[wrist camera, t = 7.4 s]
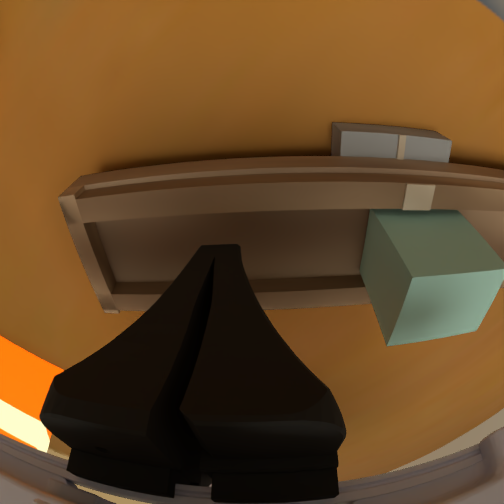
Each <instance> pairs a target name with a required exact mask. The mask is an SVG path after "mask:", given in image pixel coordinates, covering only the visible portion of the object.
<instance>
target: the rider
mask: <svg viewBox="0 0 504 504" xmlns="http://www.w3.org/2000/svg"><path fill="white" fill-rule="evenodd" d="M359 271H360V274H361V276H362V279H363V282H364V284H365V287H366V289H367V292H368V295H369V297H370V300H371V303H372V305H373V308H374V311H375V314H376V316H377V319H378V322H379V325H380V328H381V331H382V334H383V337H384V339H385V342H386V345H387V346H393V345H400V344H407V343H413V342H420V341H426V340H432V339H437V338H443V337H448V336H453V335H458V334H463V333H468V332H473V331H476V330H477V329H478V327H479V325H480V323H481V322H482V320H483V318H484V316H485V315H486V313H487V311H488V309H489V307H490V306H491V304H492V302H493V300H494V298H495V296H496V294H497V292H498V290H499V288H500V286H501V284H502V282H503V280H504V262H503V261H502V259H501V258H500V257H499V256H498V255H497V253H496V252H495V251H494V250H493V249H492V247H491V246H490V245H489V244H488V243H487V242H486V240H485V239H484V238H483V237H482V236H481V235H480V234H479V233H478V231H477V230H476V229H475V228H474V227H473V226H472V225H471V224H470V223H469V222H468V221H467V220H466V218H465V217H464V216H463V215H462V214H461V213H460V212H459V211H458V210H447V209H430V210H402V209H370V212H369V219H368V225H367V231H366V237H365V243H364V249H363V254H362V260H361V265H360V270H359Z"/></svg>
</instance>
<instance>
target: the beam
mask: <svg viewBox="0 0 504 504" xmlns="http://www.w3.org/2000/svg"><path fill="white" fill-rule="evenodd" d="M451 144H452V141H451V140H450V139H448V138H446V137H445V136H443V135H441V134H439V133H438V132H436V131H431V130H423V129H415V128H406V127H396V126H385V125H372V124H356V123H332V146H331V156H282V157H253V158H234V159H218V160H204V161H192V162H182V163H171V164H162V165H153V166H145V167H137V168H129V169H122V170H115V171H108V172H102V173H96V174H90V175H84V176H80V177H79V178H78V179H77V180H76V181H75V182H74V183H73V184H72V185H70V186H69V187H68V188H67V189H66V190H65V191H64V192H63V193H62V194H61V195H60V196H59V197H58V199H59V202H60V205H61V208H62V211H63V214H64V217H65V220H66V223H67V226H68V228H69V231H70V234H71V236H72V239H73V242H74V244H75V247H76V249H77V252H78V254H79V257H80V259H81V262H82V264H83V266H84V269H85V271H86V273H87V276H88V278H89V280H90V282H91V285H92V287H93V289H94V291H95V293H96V296H97V298H98V300H99V302H100V304H101V306H102V308H103V310H104V312H105V313H120V310H124V311H147V310H148V309H149V308H150V307H151V306H152V305H153V304H154V303H155V302H156V301H157V300H158V299H159V297H160V296H161V295H162V294H163V293H164V292H165V291H166V290H167V288H168V287H169V286H170V285H171V284H172V282H173V281H174V280H175V279H176V277H177V276H178V275H179V274H180V272H181V271H182V270H183V269H184V267H185V266H186V265H187V263H188V262H189V261H190V259H191V258H192V257H193V255H194V254H195V252H196V251H197V250H198V248H199V247H200V246H201V245H219V244H238V245H239V246H240V247H241V256H242V263H243V267H244V270H245V273H246V275H247V278H248V280H249V283H250V285H251V287H252V290H253V292H254V294H255V296H256V298H257V300H258V302H259V304H260V305H261V307H262V309H263V310H274V309H297V308H315V307H331V306H346V305H359V304H372V303H371V300H370V297H369V295H368V292H367V289H366V287H365V284H364V282H363V279H362V276H361V274H360V271H359V270H360V265H361V260H362V254H363V249H364V243H365V237H366V231H367V225H368V219H369V212H370V209H402V210H430V209H447V210H458V211H459V212H460V213H461V214H462V215H463V216H464V217H465V218H466V220H467V221H468V222H469V223H470V224H471V225H472V226H473V227H474V228H475V229H476V230H477V231H478V233H479V234H480V235H481V236H482V237H483V238H484V239H485V240H486V242H487V243H488V244H489V245H490V246H491V247H492V249H493V250H494V251H495V252H496V253H497V255H498V256H499V257H500V258H501V259H502V261H503V262H504V170H500V169H494V168H487V167H480V166H472V165H464V164H455V163H448V162H449V156H450V150H451ZM500 288H504V280H503V282H502V284H501V286H500Z"/></svg>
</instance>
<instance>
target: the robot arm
mask: <svg viewBox="0 0 504 504" xmlns="http://www.w3.org/2000/svg"><path fill="white" fill-rule="evenodd" d="M39 418H40V421H41V422H42V424H43V425H44V427H46V428H47V429H48V430H49V431H50V432H51V433H52V434H54V435H55V436H56V437H58V438H59V439H60V440H61V441H63V442H64V443H65V444H67V445H68V446H69V447H71V448H72V449H71V453H70V457H69V460H66V459H63V458H60V457H57V456H54V455H51V454H48V453H46V452H43V451H40V450H38V449H35V448H33V447H30V446H28V445H25V444H23V443H21V442H18V441H16V440H14V439H12V438H9V437H7V436H5V435H3V434H1V433H0V504H116V503H113V502H110V501H107V500H105V499H103V498H101V497H99V496H97V495H95V494H92V493H89V492H86V491H84V490H81V489H78V488H77V486H76V485H75V484H77V485H80V486H83V487H86V488H90V489H93V490H96V491H100V492H103V493H107V494H111V495H115V496H119V497H123V498H127V499H132V500H136V501H141V502H147V503H152V504H504V427H502V428H500V429H498V430H496V431H494V432H493V433H491V434H490V435H488V436H487V437H485V438H484V439H483V440H482V441H481V442H480V443H479V444H477V445H474V446H472V447H469V448H466V449H464V450H461V451H459V452H456V453H453V454H450V455H448V456H445V457H442V458H439V459H436V460H433V461H429V462H426V463H423V464H420V465H416V466H413V467H409V468H405V469H402V470H397V471H393V472H389V473H385V474H380V475H375V476H371V477H365V478H360V479H354V480H348V481H342V482H338V476H337V467H338V455H337V450H338V449H339V447H340V446H341V444H342V442H343V441H344V439H345V437H346V428H345V424H344V420H343V417H342V414H341V412H340V409H339V407H338V405H337V403H336V401H335V399H334V397H333V395H332V393H331V391H330V389H329V388H328V387H327V386H326V385H325V384H324V383H323V382H322V381H320V380H319V379H318V378H317V377H316V376H315V375H314V374H313V373H312V372H311V371H310V370H309V369H308V368H307V367H306V366H305V365H304V364H303V362H302V361H301V360H300V359H299V358H298V357H297V356H296V355H295V354H294V352H293V351H292V350H291V349H290V347H289V346H288V345H287V344H286V342H285V341H284V340H283V339H282V337H281V336H280V335H279V334H278V332H277V331H276V329H275V328H274V326H273V325H272V323H271V322H270V320H269V319H268V317H267V316H266V314H265V312H264V311H263V309H262V307H261V305H260V304H259V302H258V300H257V298H256V296H255V294H254V292H253V290H252V287H251V285H250V283H249V280H248V278H247V275H246V273H245V270H244V267H243V263H242V256H241V247H240V246H239V245H238V244H219V245H201V246H200V247H199V248H198V250H197V251H196V252H195V254H194V255H193V257H192V258H191V259H190V261H189V262H188V263H187V265H186V266H185V267H184V269H183V270H182V271H181V272H180V274H179V275H178V276H177V277H176V279H175V280H174V281H173V282H172V284H171V285H170V286H169V287H168V288H167V290H166V291H165V292H164V293H163V294H162V295H161V296H160V297H159V299H158V300H157V301H156V302H155V303H154V304H153V305H152V306H151V307H150V308H149V309H148V310H147V311H146V312H145V313H144V314H143V315H142V316H141V317H140V318H139V319H138V320H137V321H136V322H134V323H133V324H132V325H131V326H130V327H128V328H127V329H126V330H125V331H123V332H122V333H121V334H120V335H118V336H117V337H116V338H115V339H114V340H112V341H111V342H109V343H108V344H107V345H105V346H104V347H102V348H101V349H100V350H98V351H97V352H95V353H94V354H92V355H91V356H89V357H87V358H86V359H84V360H83V361H81V362H79V363H77V364H76V365H74V366H72V367H70V368H68V369H67V370H65V371H63V372H61V373H59V374H57V375H55V376H54V378H53V380H52V383H51V385H50V388H49V390H48V393H47V395H46V398H45V401H44V403H43V406H42V409H41V412H40V414H39Z"/></svg>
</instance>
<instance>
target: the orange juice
mask: <svg viewBox="0 0 504 504" xmlns="http://www.w3.org/2000/svg"><path fill="white" fill-rule="evenodd" d="M63 371H64V370H63V369H61V368H58V367H56V366H54V365H52V364H50V363H48V362H46V361H44V360H43V359H41V358H39V357H37V356H35V355H33V354H31V353H29V352H28V351H26V350H24V349H22V348H20V347H19V346H17V345H15V344H13V343H12V342H10V341H8V340H7V339H5V338H3V337H2V336H0V433H1V434H3V435H5V436H7V437H9V438H12V439H14V440H16V441H18V442H21V443H23V444H25V445H28V446H30V447H33V448H35V449H38V450H40V451H43V452H46V453H47V449H48V446H49V442H50V437H51V434H52V433H51V432H50V431H49V430H48V429H47V428H46V427H44V425H43V424H42V422H41V421H40V418H39V414H40V412H41V409H42V406H43V403H44V401H45V398H46V395H47V393H48V390H49V388H50V385H51V383H52V380H53V378H54V376H55V375H57V374H59V373H61V372H63Z"/></svg>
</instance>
